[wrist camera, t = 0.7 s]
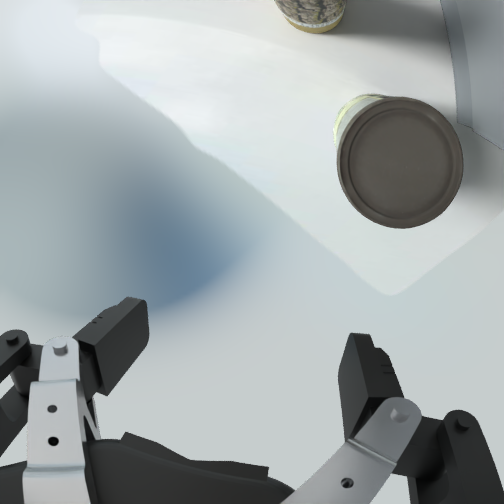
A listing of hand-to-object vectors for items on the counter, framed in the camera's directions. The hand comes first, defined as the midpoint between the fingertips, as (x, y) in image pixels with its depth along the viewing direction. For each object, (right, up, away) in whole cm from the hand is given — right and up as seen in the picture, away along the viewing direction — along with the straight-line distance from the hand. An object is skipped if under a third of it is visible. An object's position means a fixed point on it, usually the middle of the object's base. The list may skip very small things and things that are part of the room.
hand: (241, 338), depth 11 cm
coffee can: (+15, +17, +20) cm, 30 cm away
